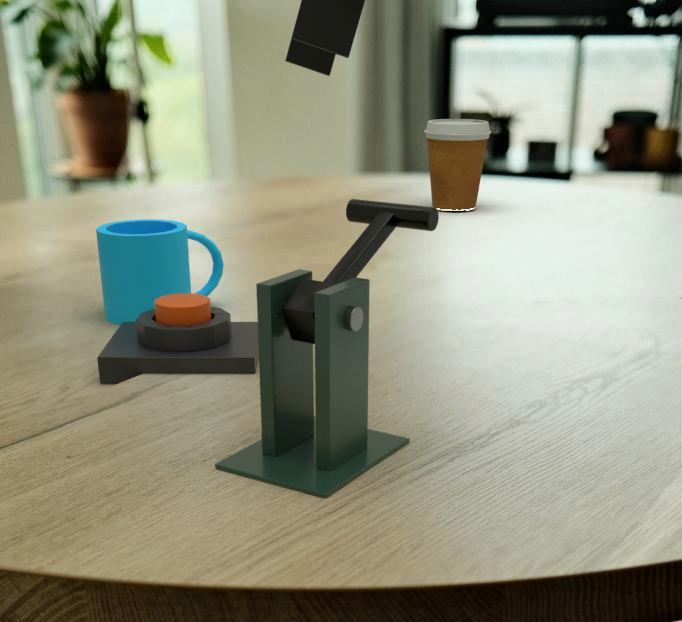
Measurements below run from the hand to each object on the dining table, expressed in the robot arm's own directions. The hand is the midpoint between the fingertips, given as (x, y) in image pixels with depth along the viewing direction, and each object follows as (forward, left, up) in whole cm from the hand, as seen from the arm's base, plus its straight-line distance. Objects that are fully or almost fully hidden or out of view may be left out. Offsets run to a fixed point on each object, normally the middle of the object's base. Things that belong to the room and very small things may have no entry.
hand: (312, 60), depth 53 cm
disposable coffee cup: (+18, +95, -24) cm, 100 cm away
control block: (-11, +21, -23) cm, 34 cm away
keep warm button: (-11, +21, -20) cm, 31 cm away
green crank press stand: (0, 0, -23) cm, 24 cm away
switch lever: (+2, +4, -13) cm, 14 cm away
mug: (-15, +37, -24) cm, 47 cm away
